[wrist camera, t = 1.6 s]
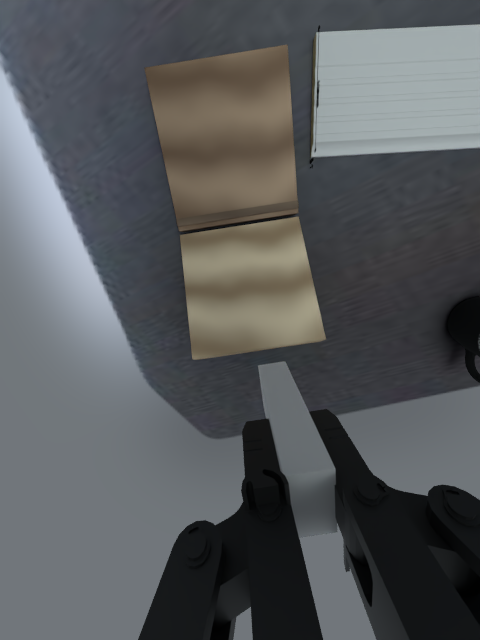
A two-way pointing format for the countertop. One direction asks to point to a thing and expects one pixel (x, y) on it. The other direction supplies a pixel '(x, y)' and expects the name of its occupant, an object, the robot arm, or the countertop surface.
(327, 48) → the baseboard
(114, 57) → the countertop surface
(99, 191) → the countertop surface
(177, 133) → the walnut board
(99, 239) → the countertop surface
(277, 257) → the oak plank
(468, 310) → the mug
